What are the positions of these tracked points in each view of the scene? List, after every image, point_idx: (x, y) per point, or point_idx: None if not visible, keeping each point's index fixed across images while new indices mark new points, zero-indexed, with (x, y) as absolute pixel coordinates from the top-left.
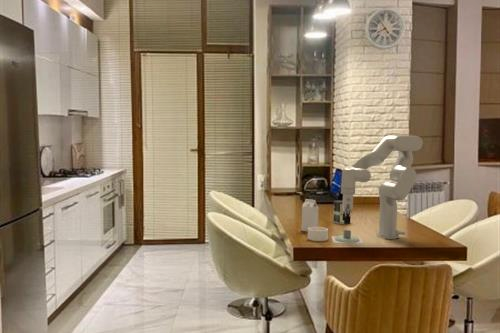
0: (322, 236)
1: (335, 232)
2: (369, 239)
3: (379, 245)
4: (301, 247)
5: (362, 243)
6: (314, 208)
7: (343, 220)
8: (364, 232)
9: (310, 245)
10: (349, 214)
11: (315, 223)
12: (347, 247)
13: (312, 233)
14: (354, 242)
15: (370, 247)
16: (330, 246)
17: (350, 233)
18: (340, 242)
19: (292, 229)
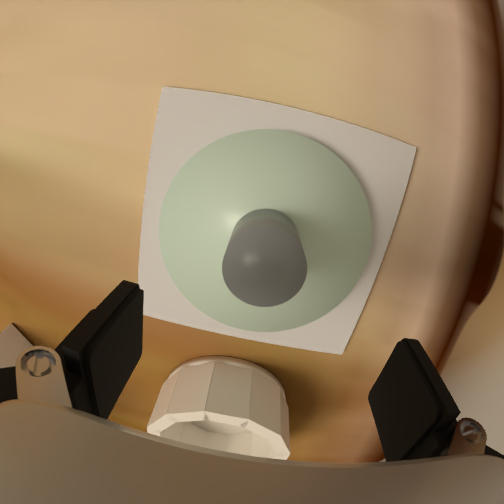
0: (285, 417)
1: (15, 237)
2: (226, 23)
3: (439, 44)
4: (372, 457)
5: (412, 155)
6: None
7: (141, 346)
8: (12, 42)
9: (352, 437)
10: (501, 456)
11: (5, 367)
12: (453, 292)
13: None
14: (374, 208)
15: (484, 141)
16: None
17: (295, 234)
18: (353, 312)
19: None
